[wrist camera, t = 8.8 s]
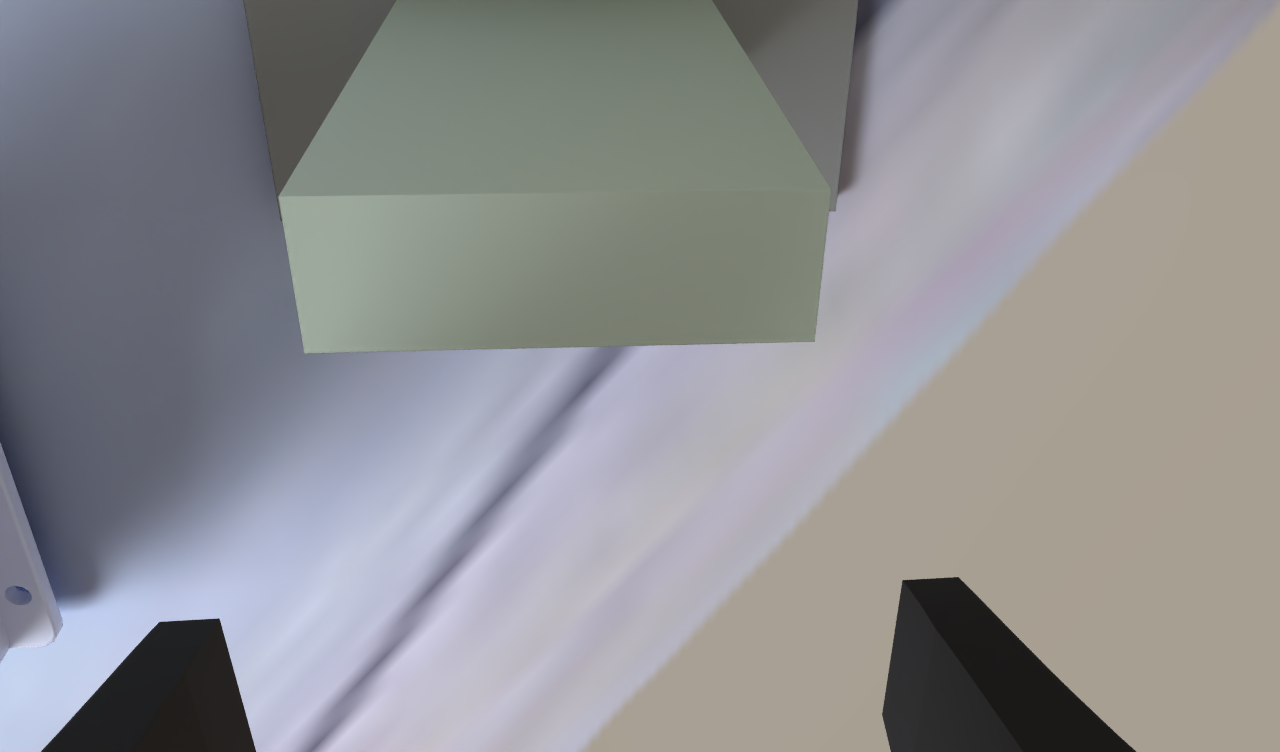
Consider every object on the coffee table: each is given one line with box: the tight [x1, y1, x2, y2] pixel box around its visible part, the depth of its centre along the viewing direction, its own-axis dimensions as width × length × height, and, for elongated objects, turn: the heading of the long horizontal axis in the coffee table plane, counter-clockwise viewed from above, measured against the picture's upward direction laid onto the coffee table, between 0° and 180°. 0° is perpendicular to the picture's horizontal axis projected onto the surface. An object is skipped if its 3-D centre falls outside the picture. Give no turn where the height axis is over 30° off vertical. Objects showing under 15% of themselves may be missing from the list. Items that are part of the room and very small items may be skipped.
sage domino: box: [278, 0, 831, 353], centre depth 14 cm, size 2×5×9 cm, turn 89°
